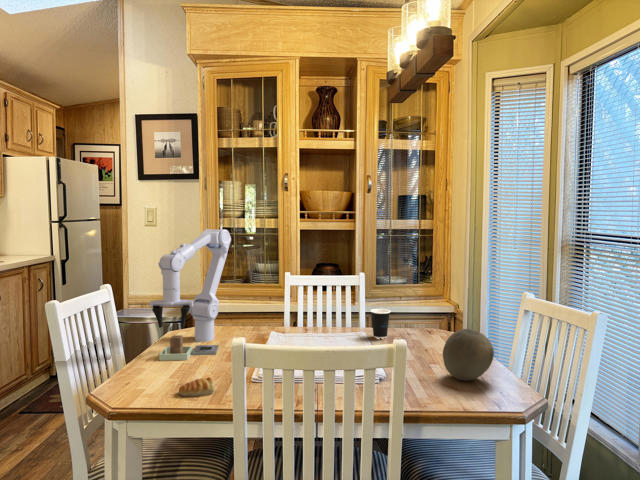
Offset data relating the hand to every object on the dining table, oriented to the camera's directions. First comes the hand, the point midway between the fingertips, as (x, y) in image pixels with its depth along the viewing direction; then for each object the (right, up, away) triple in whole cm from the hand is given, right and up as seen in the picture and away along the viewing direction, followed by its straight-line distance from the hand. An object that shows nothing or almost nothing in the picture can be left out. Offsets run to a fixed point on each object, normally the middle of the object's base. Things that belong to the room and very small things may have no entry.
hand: (171, 326), depth 164 cm
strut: (+4, -9, -6) cm, 12 cm away
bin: (+4, -10, -6) cm, 12 cm away
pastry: (+19, -12, -35) cm, 42 cm away
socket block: (+12, -10, 0) cm, 15 cm away
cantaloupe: (+96, -12, -24) cm, 100 cm away
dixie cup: (+76, -9, +22) cm, 80 cm away
